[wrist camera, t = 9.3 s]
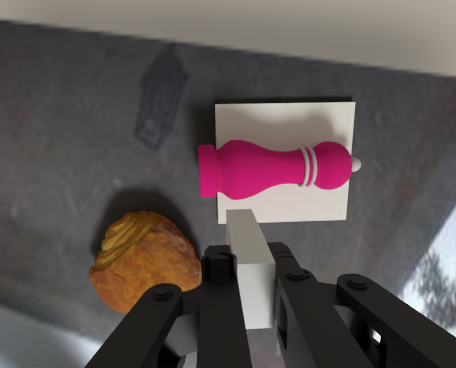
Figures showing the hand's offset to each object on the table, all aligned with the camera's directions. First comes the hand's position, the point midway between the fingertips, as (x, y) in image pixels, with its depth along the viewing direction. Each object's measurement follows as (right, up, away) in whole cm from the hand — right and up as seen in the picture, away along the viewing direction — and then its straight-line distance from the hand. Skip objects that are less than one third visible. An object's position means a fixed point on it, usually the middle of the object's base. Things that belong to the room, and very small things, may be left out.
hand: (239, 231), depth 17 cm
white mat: (+7, +5, +22) cm, 24 cm away
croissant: (-12, -8, +25) cm, 28 cm away
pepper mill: (-4, +4, +17) cm, 18 cm away
